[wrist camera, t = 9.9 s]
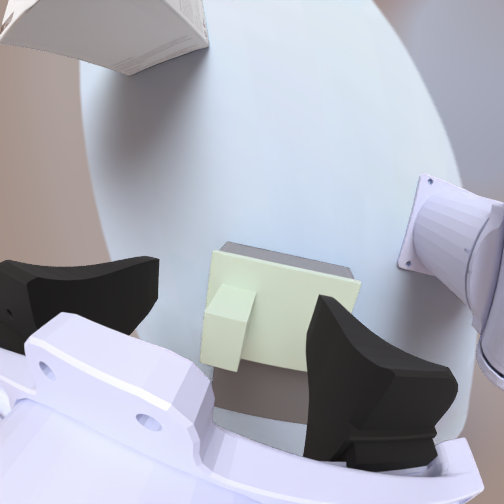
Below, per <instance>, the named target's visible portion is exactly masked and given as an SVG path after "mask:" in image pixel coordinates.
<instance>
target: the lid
mask: <svg viewBox="0 0 504 504" xmlns="http://www.w3.org/2000/svg"><path fill="white" fill-rule="evenodd" d="M360 287H361V282H360V281H359V280H354V279H350V278H345V277H340V276H335V275H331V274H326V273H321V272H316V271H312V270H307V269H302V268H298V267H293V266H288V265H284V264H279V263H274V262H270V261H265V260H260V259H256V258H251V257H247V256H242V255H237V254H233V253H228V252H224V251H219V250H214V251H213V252H212V258H211V266H210V274H209V282H208V291H207V299H206V308H205V312H204V321H203V331H202V341H201V352H200V363H204V364H207V365H211V366H215V367H218V368H222V369H226V370H230V371H234V372H237V370H238V367H239V363H240V360H241V359H245V360H250V361H254V362H259V363H263V364H268V365H273V366H278V367H283V368H289V369H294V370H300V371H306V372H307V363H306V334H307V330H308V327H309V324H310V321H311V318H312V315H313V312H314V309H315V306H316V302H317V299H318V296H319V294H320V295H325V296H330V297H333V298H335V299H336V300H337V301H338V302H339V303H340V304H342V305H343V306H344V307H345V308H346V309H347V310H348V311H349V312H350V313H351V312H352V310H353V307H354V304H355V301H356V299H357V296H358V293H359V290H360Z"/></svg>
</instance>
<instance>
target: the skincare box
mask: <svg viewBox="0 0 504 504" xmlns="http://www.w3.org/2000/svg"><path fill="white" fill-rule="evenodd" d="M0 44H5V45H13V46H19V47H25V48H31V49H36V50H41V51H46V52H50V53H55V54H59V55H63V56H67V57H71V58H75V59H78V60H82V61H85V62H89V63H92V64H95V65H99V66H102V67H105V68H108V69H111V70H114V71H117V72H120V73H123V74H126V75H128V76H130V75H133V74H135V73H137V72H139V71H142V70H144V69H146V68H149V67H151V66H154V65H156V64H159V63H161V62H164V61H167V60H169V59H172V58H175V57H178V56H181V55H183V54H186V53H189V52H192V51H195V50H198V49H202V48H205V47H208V46H209V40H208V34H207V27H206V21H205V15H204V9H203V2H202V0H9V2H8V6H7V9H6V12H5V16H4V19H3V23H2V27H1V32H0Z"/></svg>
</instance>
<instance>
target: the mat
mask: <svg viewBox="0 0 504 504" xmlns="http://www.w3.org/2000/svg"><path fill="white" fill-rule="evenodd" d="M212 389H213V393H214V397H215V402H214V406H216V407H219V408H223V409H227V410H231V411H236V412H240V413H244V414H249V415H253V416H258V417H263V418H269V419H274V420H280V421H286V422H293V423H300V424H307V421H308V407H309V387H308V375H307V372H306V371H300V370H294V369H289V368H283V367H278V366H273V365H268V364H263V363H259V362H254V361H250V360H245V359H241V360H240V363H239V367H238V370H237V372H234V371H230V370H226V369H222V368H218V367H215V366H214V374H213V381H212Z"/></svg>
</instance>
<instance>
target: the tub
mask: <svg viewBox="0 0 504 504" xmlns="http://www.w3.org/2000/svg"><path fill="white" fill-rule="evenodd" d="M219 251H224V252H228V253H233V254H237V255H242V256H247V257H251V258H256V259H260V260H265V261H270V262H274V263H279V264H284V265H288V266H293V267H298V268H302V269H307V270H312V271H316V272H321V273H326V274H331V275H335V276H340V277H345V278H350V279H354V277H353V275H352V273H351V271H350V269H349V268H348V267H343V266H339V265H334V264H330V263H325V262H320V261H316V260H311V259H307V258H302V257H297V256H293V255H288V254H283V253H279V252H274V251H269V250H265V249H260V248H255V247H251V246H246V245H241V244H237V243H232V242H226V244H225V245H224V246H223V247H222V248H221V249H220V250H219ZM354 280H355V279H354Z"/></svg>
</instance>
